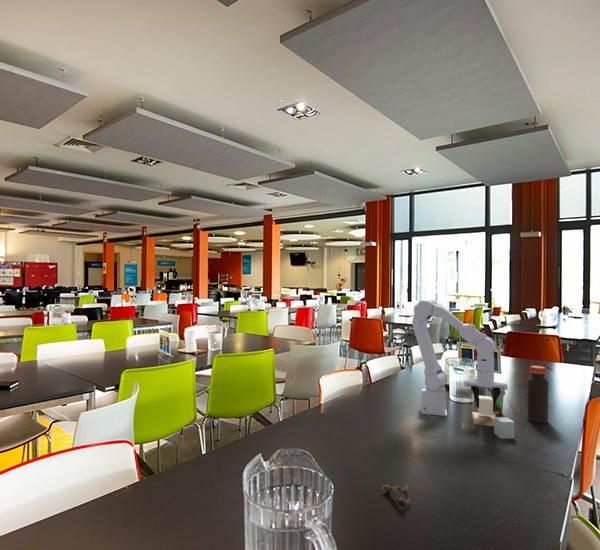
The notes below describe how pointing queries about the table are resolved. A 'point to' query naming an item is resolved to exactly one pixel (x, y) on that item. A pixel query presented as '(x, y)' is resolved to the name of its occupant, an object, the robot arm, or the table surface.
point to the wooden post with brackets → (398, 488)
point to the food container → (499, 402)
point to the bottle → (537, 396)
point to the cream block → (485, 405)
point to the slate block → (504, 427)
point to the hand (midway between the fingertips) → (485, 407)
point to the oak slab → (483, 419)
